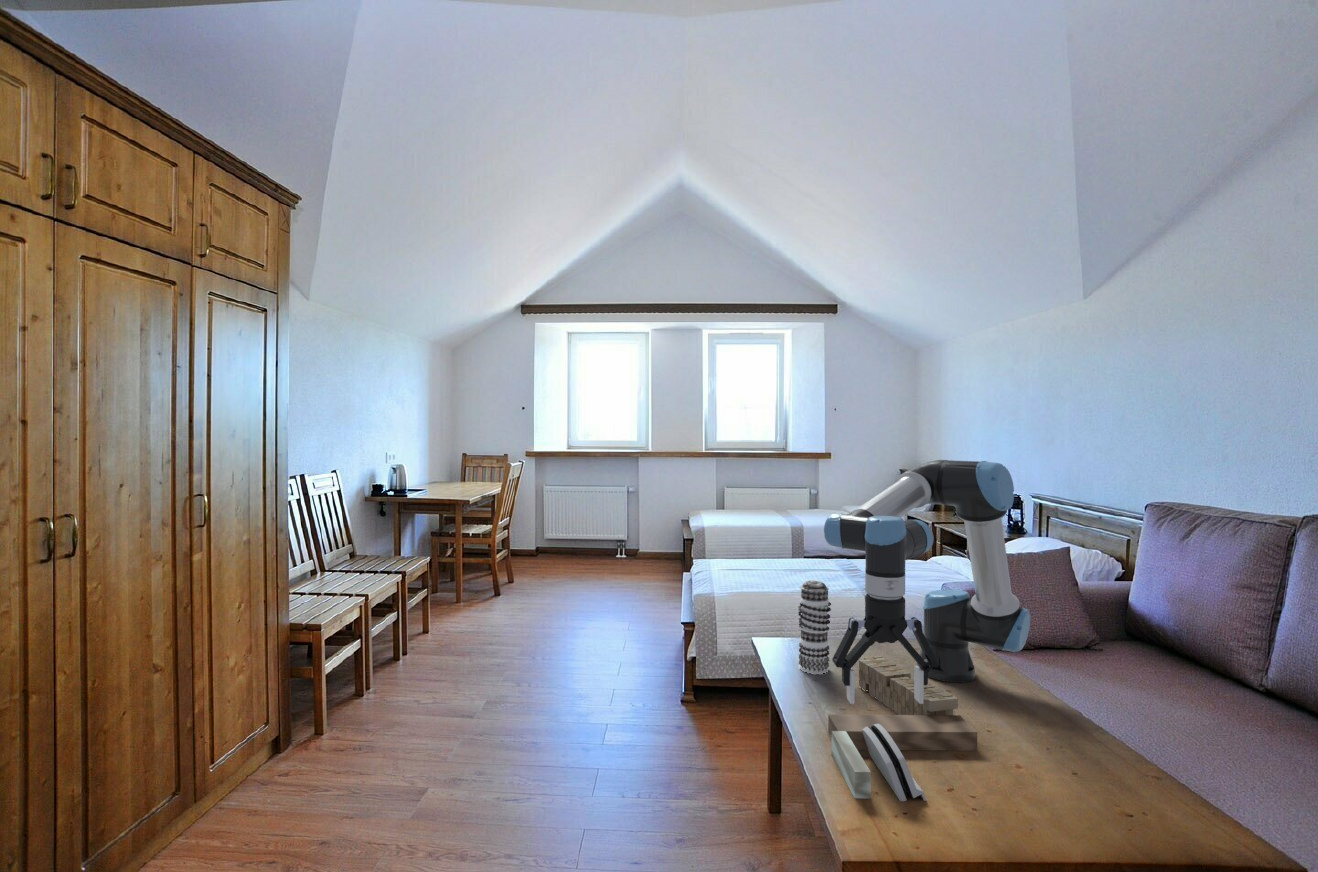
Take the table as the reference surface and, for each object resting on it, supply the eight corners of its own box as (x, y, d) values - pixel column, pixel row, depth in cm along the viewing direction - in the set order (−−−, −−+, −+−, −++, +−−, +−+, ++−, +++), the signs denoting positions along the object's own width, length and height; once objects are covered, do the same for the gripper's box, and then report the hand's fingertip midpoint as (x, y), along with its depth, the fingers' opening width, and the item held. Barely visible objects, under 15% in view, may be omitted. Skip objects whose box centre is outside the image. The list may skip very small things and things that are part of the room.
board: (959, 732, 145) (959, 711, 144) (1025, 799, 119) (1025, 773, 118) (819, 732, 145) (819, 710, 145) (854, 798, 119) (854, 772, 119)
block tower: (855, 689, 171) (930, 736, 143) (855, 658, 171) (929, 699, 143) (880, 686, 173) (958, 732, 145) (880, 655, 174) (958, 695, 145)
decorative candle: (834, 675, 178) (835, 586, 178) (801, 675, 178) (802, 586, 178) (826, 663, 187) (827, 579, 187) (794, 662, 187) (795, 578, 187)
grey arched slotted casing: (927, 802, 118) (910, 751, 118) (903, 810, 118) (886, 760, 118) (893, 755, 134) (878, 711, 134) (872, 762, 134) (856, 718, 134)
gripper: (827, 600, 122) (827, 709, 122) (956, 600, 122) (956, 709, 122) (817, 590, 129) (817, 693, 130) (939, 589, 129) (938, 692, 130)
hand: (884, 701), depth 126 cm, fingers open, 13 cm apart
